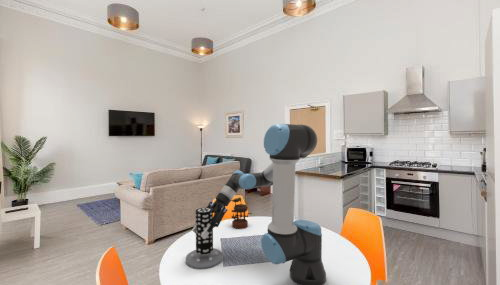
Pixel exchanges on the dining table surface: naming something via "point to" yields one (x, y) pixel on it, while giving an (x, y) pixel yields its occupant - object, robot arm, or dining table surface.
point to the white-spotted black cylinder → (202, 221)
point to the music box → (240, 209)
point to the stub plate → (204, 259)
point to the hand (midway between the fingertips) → (198, 234)
